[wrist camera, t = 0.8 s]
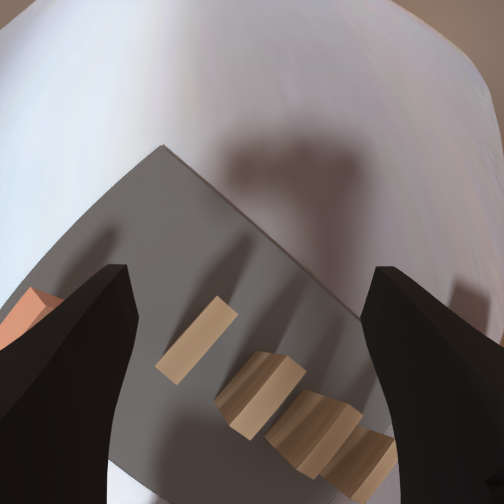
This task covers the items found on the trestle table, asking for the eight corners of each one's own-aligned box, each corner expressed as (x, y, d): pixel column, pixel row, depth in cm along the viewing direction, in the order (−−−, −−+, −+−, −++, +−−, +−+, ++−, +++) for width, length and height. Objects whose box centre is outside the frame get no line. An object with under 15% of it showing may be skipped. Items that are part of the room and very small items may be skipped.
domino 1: (81, 315, 21) (45, 306, 14) (44, 360, 20) (-1, 366, 13) (69, 301, 21) (30, 286, 14) (31, 346, 20) (-16, 346, 13)
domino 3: (270, 362, 24) (306, 371, 17) (229, 412, 22) (250, 440, 15) (255, 350, 24) (287, 355, 17) (213, 400, 22) (228, 425, 15)
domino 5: (355, 427, 24) (406, 447, 17) (320, 472, 22) (363, 504, 15) (344, 419, 24) (395, 438, 17) (308, 465, 22) (350, 498, 15)
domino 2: (220, 320, 24) (238, 314, 17) (177, 370, 22) (176, 385, 15) (205, 307, 24) (217, 295, 17) (161, 357, 22) (154, 366, 15)
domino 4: (316, 398, 24) (363, 415, 17) (277, 446, 22) (313, 479, 15) (303, 388, 24) (347, 403, 17) (263, 436, 22) (296, 469, 15)
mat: (275, 552, 19) (277, 554, 19) (-11, 328, 19) (-14, 327, 19) (416, 376, 26) (418, 376, 26) (160, 147, 27) (160, 145, 26)
